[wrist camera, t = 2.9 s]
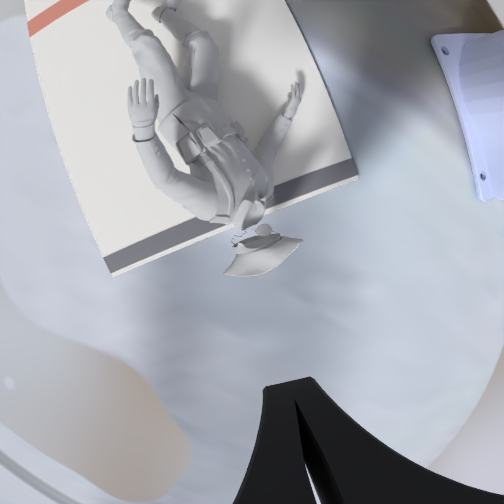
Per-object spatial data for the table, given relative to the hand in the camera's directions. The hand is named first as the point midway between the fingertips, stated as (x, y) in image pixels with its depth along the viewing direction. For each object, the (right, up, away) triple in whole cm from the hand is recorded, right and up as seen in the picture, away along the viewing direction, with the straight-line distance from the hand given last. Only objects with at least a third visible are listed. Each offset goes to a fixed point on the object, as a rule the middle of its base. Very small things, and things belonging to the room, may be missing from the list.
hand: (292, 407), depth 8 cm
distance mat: (-6, +14, +3) cm, 16 cm away
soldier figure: (-3, +10, +4) cm, 12 cm away
